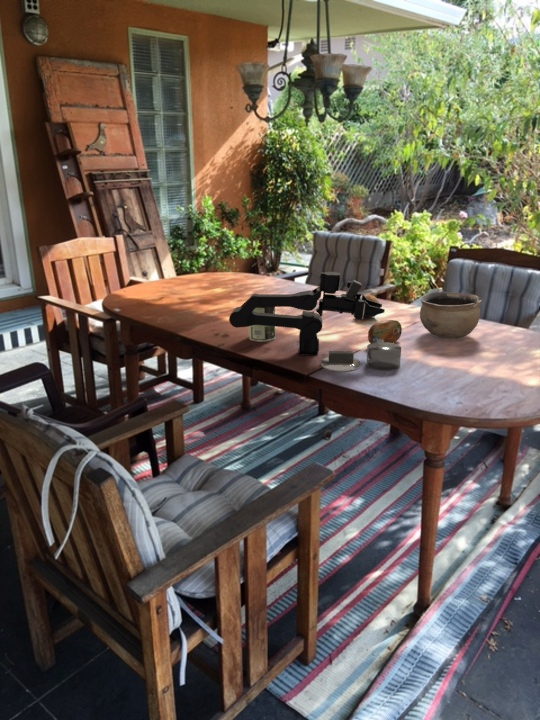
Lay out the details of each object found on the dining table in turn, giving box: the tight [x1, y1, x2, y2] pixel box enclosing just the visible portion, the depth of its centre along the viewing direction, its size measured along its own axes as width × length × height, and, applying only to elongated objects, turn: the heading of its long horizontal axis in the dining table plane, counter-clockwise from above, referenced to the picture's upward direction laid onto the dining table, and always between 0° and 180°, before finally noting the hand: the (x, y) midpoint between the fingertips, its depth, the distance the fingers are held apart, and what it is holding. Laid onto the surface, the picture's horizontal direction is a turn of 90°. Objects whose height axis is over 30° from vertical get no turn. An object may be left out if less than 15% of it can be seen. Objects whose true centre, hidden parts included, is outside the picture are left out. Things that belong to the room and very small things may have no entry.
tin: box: [367, 319, 403, 344], centre depth 219 cm, size 15×3×8 cm, turn 125°
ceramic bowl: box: [419, 291, 482, 340], centre depth 226 cm, size 22×22×15 cm
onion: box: [360, 293, 380, 320], centre depth 252 cm, size 10×10×10 cm
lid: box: [320, 350, 362, 372], centre depth 199 cm, size 13×13×5 cm
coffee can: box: [248, 307, 276, 343], centre depth 226 cm, size 10×10×14 cm
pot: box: [366, 340, 402, 371], centre depth 201 cm, size 11×16×6 cm
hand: (383, 308), depth 205 cm, fingers open, 9 cm apart
